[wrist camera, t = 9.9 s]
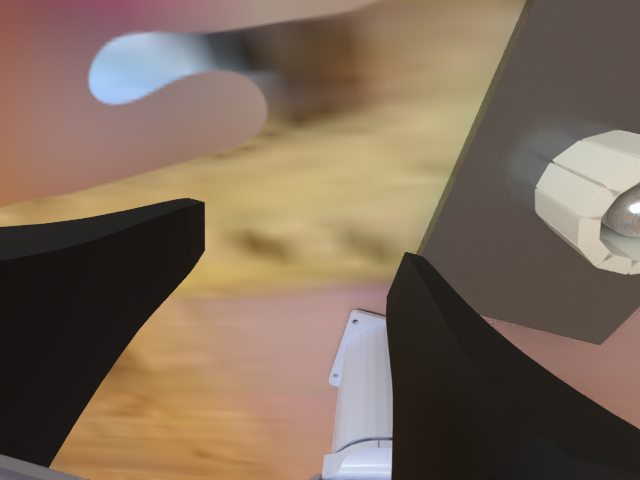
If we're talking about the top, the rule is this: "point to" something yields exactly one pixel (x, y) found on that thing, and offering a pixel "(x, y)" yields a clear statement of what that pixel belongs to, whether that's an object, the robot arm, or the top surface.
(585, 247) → the ring
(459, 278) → the steel tile with stud
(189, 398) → the top surface
